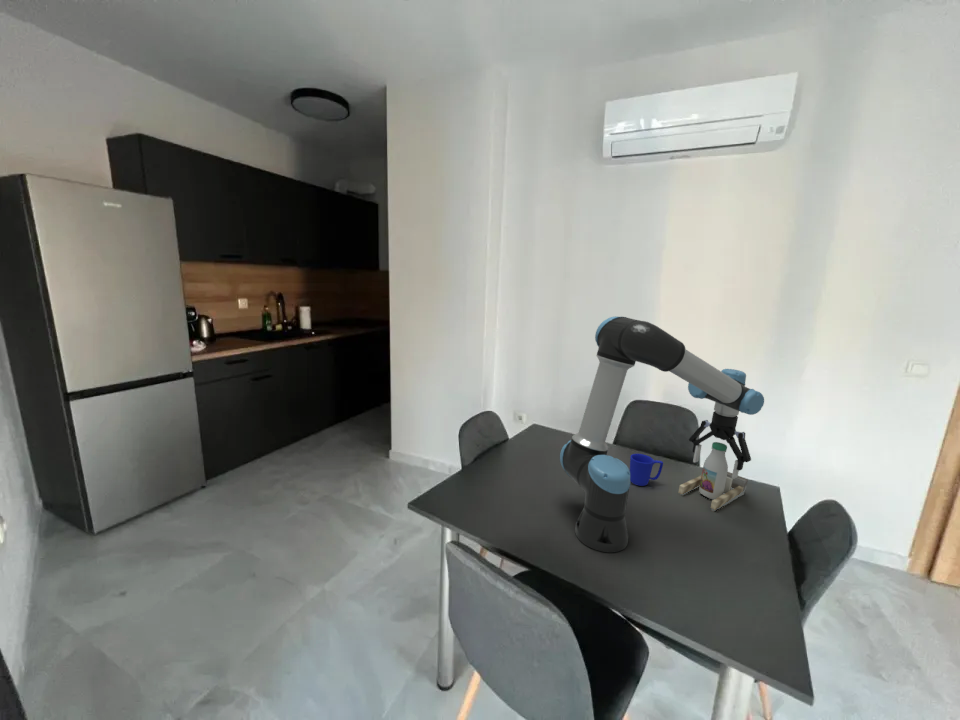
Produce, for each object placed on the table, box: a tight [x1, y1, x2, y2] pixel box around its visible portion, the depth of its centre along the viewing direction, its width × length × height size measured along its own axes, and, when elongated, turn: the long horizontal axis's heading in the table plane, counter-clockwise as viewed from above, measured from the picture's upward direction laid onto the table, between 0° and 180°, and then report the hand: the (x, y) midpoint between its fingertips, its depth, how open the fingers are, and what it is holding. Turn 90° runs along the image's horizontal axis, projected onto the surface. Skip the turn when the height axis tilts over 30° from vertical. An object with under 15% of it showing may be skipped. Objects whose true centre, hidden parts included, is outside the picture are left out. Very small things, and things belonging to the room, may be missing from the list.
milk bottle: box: [698, 441, 729, 498], centre depth 147 cm, size 8×8×20 cm
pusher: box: [724, 477, 733, 493], centre depth 152 cm, size 4×9×7 cm, turn 35°
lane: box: [677, 471, 749, 510], centre depth 149 cm, size 22×13×6 cm, turn 125°
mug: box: [629, 453, 664, 487], centre depth 155 cm, size 8×12×10 cm
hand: (714, 469), depth 147 cm, fingers open, 13 cm apart
